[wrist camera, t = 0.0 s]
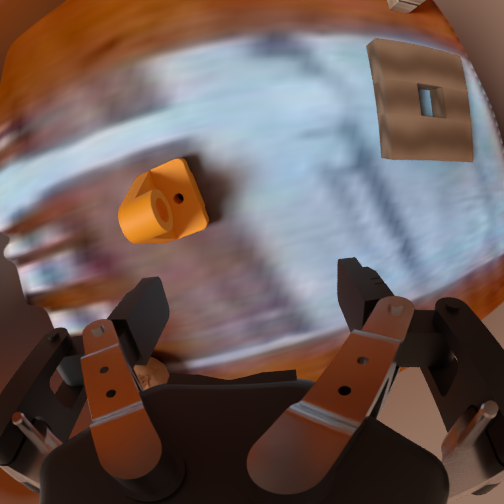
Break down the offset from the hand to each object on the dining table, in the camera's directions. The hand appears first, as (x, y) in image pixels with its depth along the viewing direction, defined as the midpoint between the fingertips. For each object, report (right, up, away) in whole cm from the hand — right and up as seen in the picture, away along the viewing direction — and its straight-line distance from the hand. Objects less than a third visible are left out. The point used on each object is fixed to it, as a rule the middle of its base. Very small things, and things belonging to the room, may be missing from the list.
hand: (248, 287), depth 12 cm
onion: (-21, -22, +42) cm, 51 cm away
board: (+26, +25, +21) cm, 42 cm away
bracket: (-11, +10, +28) cm, 32 cm away
